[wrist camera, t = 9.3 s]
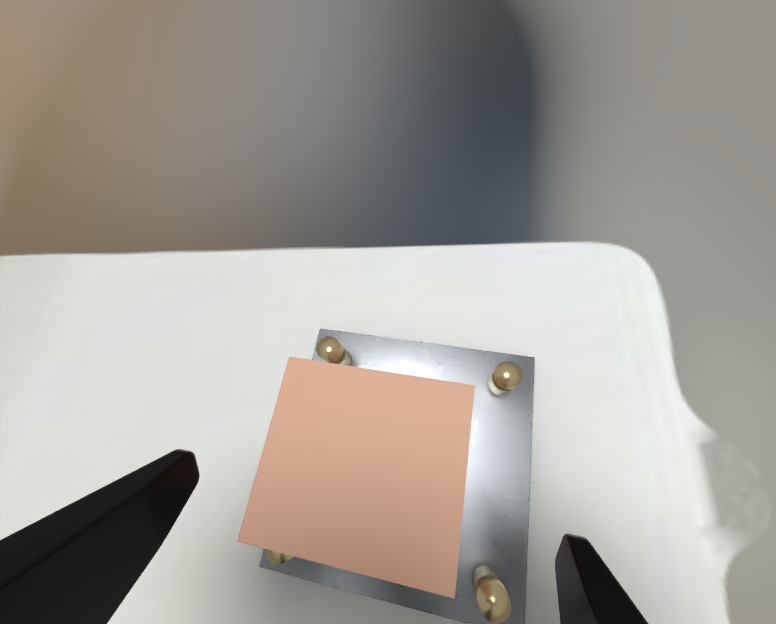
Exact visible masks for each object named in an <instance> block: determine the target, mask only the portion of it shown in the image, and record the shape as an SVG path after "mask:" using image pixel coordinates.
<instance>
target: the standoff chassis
mask: <svg viewBox="0 0 776 624" xmlns="http://www.w3.org/2000/svg"><path fill="white" fill-rule="evenodd" d="M534 358H535V357H527V356H520V355H513V354H505V353H498V352H490V351H483V350H475V349H468V348H461V347H453V346H446V345H438V344H431V343H423V342H416V341H408V340H401V339H394V338H386V337H379V336H371V335H364V334H356V333H349V332H342V331H334V330H327V329H320V331H319V335H318V339H317V343H316V346H315V350H314V354H313V358H312V360H314V361H321V362H327V363H334V364H340V365H347V366H353V367H360V368H366V369H373V370H379V371H386V372H392V373H399V374H405V375H412V376H418V377H425V378H431V379H438V380H444V381H451V382H457V383H464V384H471V385H475V390H474V400H473V411H472V422H471V432H470V443H469V453H468V464H467V475H466V485H465V496H464V506H463V517H462V527H461V538H460V549H459V559H458V570H457V580H456V591H455V599H454V598H450V597H446V596H443V595H439V594H435V593H431V592H427V591H424V590H420V589H416V588H412V587H408V586H405V585H401V584H397V583H393V582H389V581H386V580H382V579H378V578H374V577H370V576H367V575H363V574H359V573H355V572H351V571H348V570H344V569H340V568H336V567H332V566H329V565H325V564H321V563H317V562H313V561H310V560H306V559H302V558H298V557H295V556H291V555H287V554H283V553H279V552H276V551H272V550H268V549H263V553H262V557H261V561H260V565H259V567H263V568H266V569H270V570H274V571H277V572H281V573H285V574H288V575H292V576H296V577H299V578H303V579H307V580H310V581H314V582H318V583H321V584H325V585H328V586H332V587H336V588H339V589H343V590H347V591H350V592H354V593H358V594H361V595H365V596H369V597H372V598H376V599H380V600H383V601H387V602H391V603H394V604H398V605H402V606H405V607H409V608H413V609H416V610H420V611H424V612H427V613H431V614H435V615H438V616H442V617H446V618H449V619H453V620H457V621H460V622H464V623H468V624H525V599H526V573H527V546H528V519H529V492H530V465H531V439H532V412H533V385H534Z"/></svg>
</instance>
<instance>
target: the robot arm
mask: <svg viewBox="0 0 776 624" xmlns="http://www.w3.org/2000/svg"><path fill="white" fill-rule="evenodd" d="M198 480H199V470H198V466H197V462H196V458H195V455H194V453H193V452H191V451H187V450H182V449H177V450H175V451H172V452H170V453H168V454H167V455H165V456H163V457H161V458H159V459H157V460H155V461H153V462H151V463H149V464H147V465H145V466H143V467H141V468H139V469H137V470H136V471H134V472H132V473H130V474H128V475H126V476H124V477H122V478H120V479H118V480H116V481H114V482H112V483H110V484H108V485H106V486H105V487H103V488H101V489H99V490H97V491H95V492H93V493H91V494H89V495H87V496H85V497H83V498H81V499H79V500H77V501H75V502H73V503H72V504H70V505H68V506H66V507H64V508H62V509H60V510H58V511H56V512H54V513H52V514H50V515H48V516H46V517H44V518H42V519H41V520H39V521H37V522H35V523H33V524H31V525H29V526H27V527H25V528H23V529H21V530H19V531H17V532H15V533H13V534H11V535H9V536H8V537H6V538H4V539H2V540H0V624H107V623H108V621H109V620H110V618H111V617H112V616H113V614H114V613H115V611H116V610H117V608H118V607H119V606H120V604H121V603H122V601H123V600H124V598H125V597H126V595H127V594H128V593H129V591H130V590H131V588H132V587H133V585H134V584H135V583H136V581H137V580H138V578H139V577H140V575H141V574H142V573H143V571H144V570H145V568H146V567H147V565H148V564H149V562H150V561H151V560H152V558H153V557H154V555H155V554H156V552H157V551H158V549H159V548H160V546H161V545H162V543H163V542H164V540H165V538H166V537H167V535H168V533H169V532H170V530H171V528H172V527H173V525H174V523H175V521H176V520H177V518H178V516H179V515H180V513H181V511H182V509H183V508H184V506H185V504H186V502H187V501H188V499H189V497H190V496H191V494H192V492H193V490H194V489H195V487H196V485H197V483H198ZM555 571H556V581H557V592H558V602H559V612H560V622H561V624H648V623H647V621H646V620H645V618H644V617H643V616H642V614H641V613H640V612H639V610H638V609H637V607H636V606H635V605H634V603H633V602H632V600H631V599H630V598H629V596H628V595H627V593H626V592H625V591H624V589H623V588H622V586H621V585H620V584H619V582H618V581H617V580H616V578H615V577H614V575H613V574H612V573H611V571H610V570H609V568H608V567H607V566H606V564H605V563H604V561H603V560H602V559H601V557H600V556H599V554H598V553H597V552H596V550H595V549H594V548H593V546H592V545H591V543H590V542H589V541H588V540H587V539H586V538H584V537H582V536H577V535H572V534H565V535H564V536H563V539H562V541H561V544H560V547H559V550H558V553H557V555H556V560H555Z"/></svg>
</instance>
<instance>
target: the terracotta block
mask: <svg viewBox="0 0 776 624" xmlns="http://www.w3.org/2000/svg"><path fill="white" fill-rule="evenodd" d="M474 390H475V385H471V384H464V383H457V382H451V381H444V380H438V379H431V378H425V377H418V376H412V375H405V374H399V373H392V372H386V371H379V370H373V369H366V368H360V367H353V366H347V365H340V364H334V363H327V362H321V361H314V360H307V359H301V358H294V357H289V359H288V363H287V366H286V370H285V373H284V377H283V381H282V384H281V388H280V391H279V395H278V398H277V402H276V406H275V409H274V413H273V416H272V420H271V423H270V427H269V431H268V434H267V438H266V441H265V445H264V448H263V452H262V456H261V459H260V463H259V466H258V470H257V473H256V477H255V481H254V484H253V488H252V491H251V495H250V498H249V502H248V505H247V509H246V513H245V516H244V520H243V523H242V527H241V530H240V534H239V538H238V542H241V543H245V544H249V545H253V546H257V547H260V548H264V549H268V550H272V551H276V552H279V553H283V554H287V555H291V556H295V557H298V558H302V559H306V560H310V561H313V562H317V563H321V564H325V565H329V566H332V567H336V568H340V569H344V570H348V571H351V572H355V573H359V574H363V575H367V576H370V577H374V578H378V579H382V580H386V581H389V582H393V583H397V584H401V585H405V586H408V587H412V588H416V589H420V590H424V591H427V592H431V593H435V594H439V595H443V596H446V597H450V598H454V599H455V591H456V580H457V570H458V559H459V549H460V538H461V527H462V517H463V506H464V496H465V485H466V475H467V464H468V453H469V443H470V432H471V422H472V411H473V400H474Z"/></svg>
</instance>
